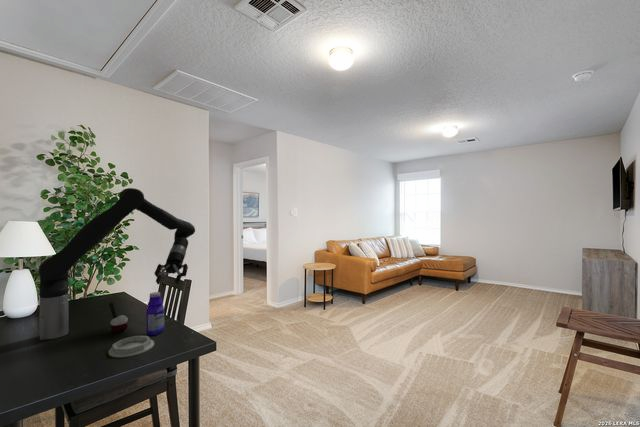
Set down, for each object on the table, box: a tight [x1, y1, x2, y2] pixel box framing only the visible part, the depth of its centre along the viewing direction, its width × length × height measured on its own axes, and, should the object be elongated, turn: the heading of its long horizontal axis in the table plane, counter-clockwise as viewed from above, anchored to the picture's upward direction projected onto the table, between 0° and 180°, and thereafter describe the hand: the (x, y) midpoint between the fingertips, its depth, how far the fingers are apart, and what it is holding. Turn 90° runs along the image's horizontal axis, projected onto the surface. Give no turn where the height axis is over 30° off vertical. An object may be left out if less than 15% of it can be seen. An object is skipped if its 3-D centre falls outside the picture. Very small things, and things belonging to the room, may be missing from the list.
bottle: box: [145, 291, 165, 336], centre depth 132 cm, size 7×6×17 cm
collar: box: [107, 335, 155, 358], centre depth 118 cm, size 15×15×2 cm
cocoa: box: [108, 302, 129, 334], centre depth 135 cm, size 10×6×12 cm, turn 51°
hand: (167, 283), depth 144 cm, fingers open, 8 cm apart
